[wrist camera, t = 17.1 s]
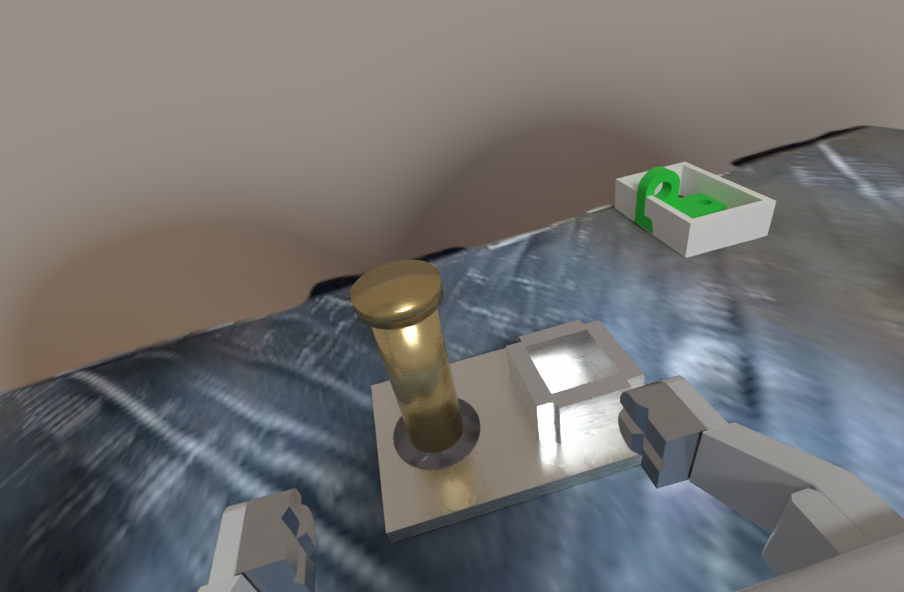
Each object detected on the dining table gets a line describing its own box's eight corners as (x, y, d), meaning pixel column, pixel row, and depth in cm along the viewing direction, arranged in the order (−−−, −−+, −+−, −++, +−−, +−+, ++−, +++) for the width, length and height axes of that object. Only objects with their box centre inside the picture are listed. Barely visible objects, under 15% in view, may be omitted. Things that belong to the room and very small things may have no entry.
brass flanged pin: (406, 469, 37) (351, 321, 28) (397, 412, 43) (349, 272, 34) (479, 447, 38) (448, 296, 29) (461, 394, 43) (431, 252, 34)
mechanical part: (659, 238, 63) (666, 184, 59) (634, 222, 68) (639, 171, 64) (732, 217, 65) (745, 163, 60) (702, 203, 70) (712, 152, 65)
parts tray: (685, 257, 59) (690, 223, 56) (614, 208, 73) (615, 179, 71) (767, 235, 60) (776, 201, 57) (681, 191, 75) (684, 161, 72)
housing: (390, 543, 34) (371, 504, 31) (374, 395, 47) (360, 357, 44) (688, 449, 36) (698, 404, 33) (594, 333, 50) (595, 293, 47)
